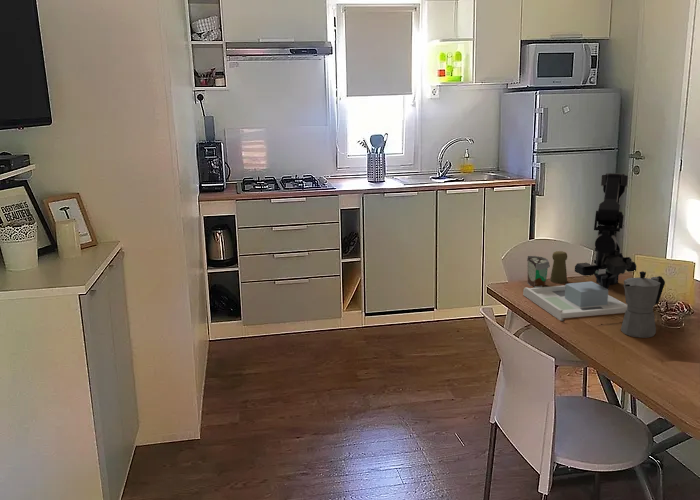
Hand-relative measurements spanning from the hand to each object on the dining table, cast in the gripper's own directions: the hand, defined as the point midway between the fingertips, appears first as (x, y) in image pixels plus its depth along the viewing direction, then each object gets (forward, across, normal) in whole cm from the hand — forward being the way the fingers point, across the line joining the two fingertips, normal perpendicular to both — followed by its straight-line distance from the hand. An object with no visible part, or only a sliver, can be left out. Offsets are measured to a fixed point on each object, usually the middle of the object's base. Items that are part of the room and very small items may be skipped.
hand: (604, 292), depth 208 cm
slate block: (+2, -6, 0) cm, 7 cm away
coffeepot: (+3, -5, -27) cm, 27 cm away
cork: (+3, -2, +26) cm, 26 cm away
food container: (+3, -12, +21) cm, 25 cm away
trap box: (+3, -8, 0) cm, 9 cm away
